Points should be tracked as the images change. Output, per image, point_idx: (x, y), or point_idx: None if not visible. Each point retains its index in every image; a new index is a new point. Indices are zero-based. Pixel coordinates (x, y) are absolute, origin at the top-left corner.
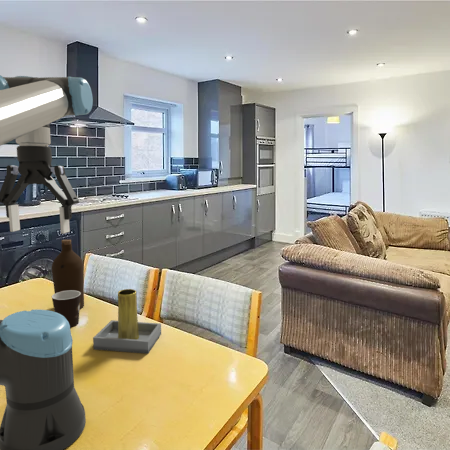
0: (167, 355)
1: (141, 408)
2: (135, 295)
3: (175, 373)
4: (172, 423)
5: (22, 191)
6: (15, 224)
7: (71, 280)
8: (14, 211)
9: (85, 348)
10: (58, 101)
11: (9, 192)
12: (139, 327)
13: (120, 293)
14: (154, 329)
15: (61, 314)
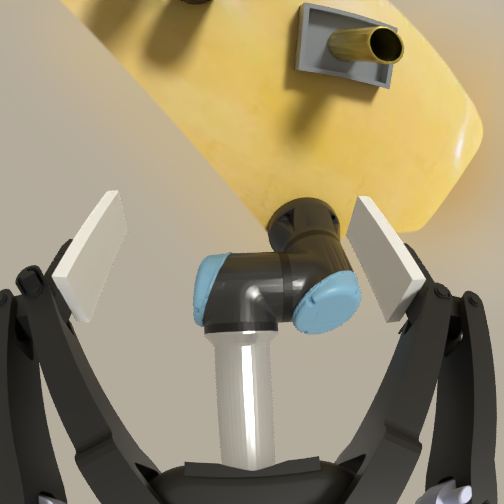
0: (404, 93)
1: (382, 195)
2: (400, 51)
3: (413, 137)
4: (404, 212)
5: (84, 376)
6: (114, 232)
7: None
8: (91, 277)
9: (278, 66)
10: None
11: (17, 355)
12: (358, 20)
13: (367, 35)
14: None
15: (194, 1)
